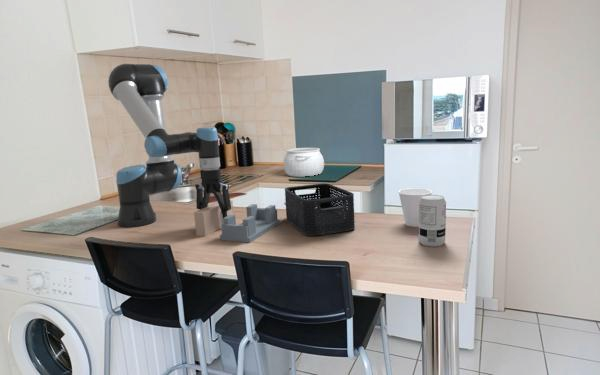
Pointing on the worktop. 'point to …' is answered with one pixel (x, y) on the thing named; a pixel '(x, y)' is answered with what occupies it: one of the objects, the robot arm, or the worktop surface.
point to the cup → (412, 204)
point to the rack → (250, 224)
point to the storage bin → (320, 209)
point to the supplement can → (432, 220)
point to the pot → (303, 162)
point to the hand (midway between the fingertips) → (215, 227)
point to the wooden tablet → (231, 195)
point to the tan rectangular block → (209, 219)
